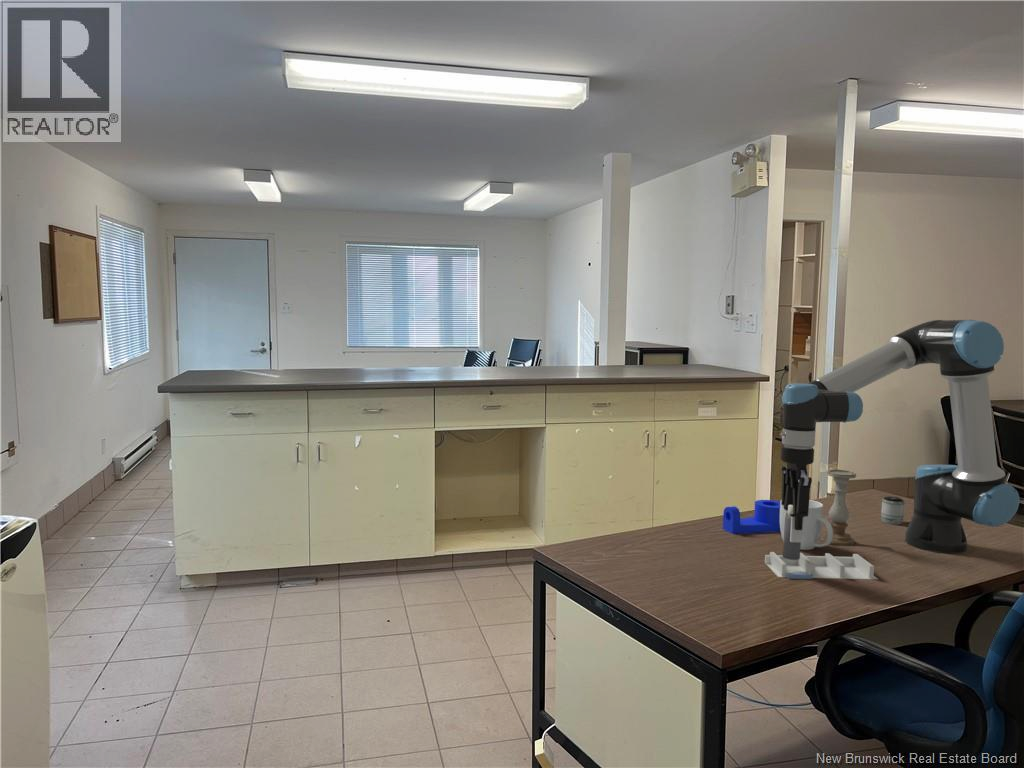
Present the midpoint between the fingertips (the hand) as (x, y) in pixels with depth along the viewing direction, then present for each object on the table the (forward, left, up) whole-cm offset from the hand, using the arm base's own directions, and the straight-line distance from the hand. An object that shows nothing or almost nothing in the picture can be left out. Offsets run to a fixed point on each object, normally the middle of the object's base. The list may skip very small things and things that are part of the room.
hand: (792, 538), depth 172 cm
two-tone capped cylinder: (0, 0, -5) cm, 5 cm away
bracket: (-3, -38, -9) cm, 39 cm away
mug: (-10, -19, -9) cm, 23 cm away
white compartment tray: (-7, 0, -9) cm, 11 cm away
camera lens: (-49, -48, -9) cm, 69 cm away
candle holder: (-23, -27, -9) cm, 37 cm away
